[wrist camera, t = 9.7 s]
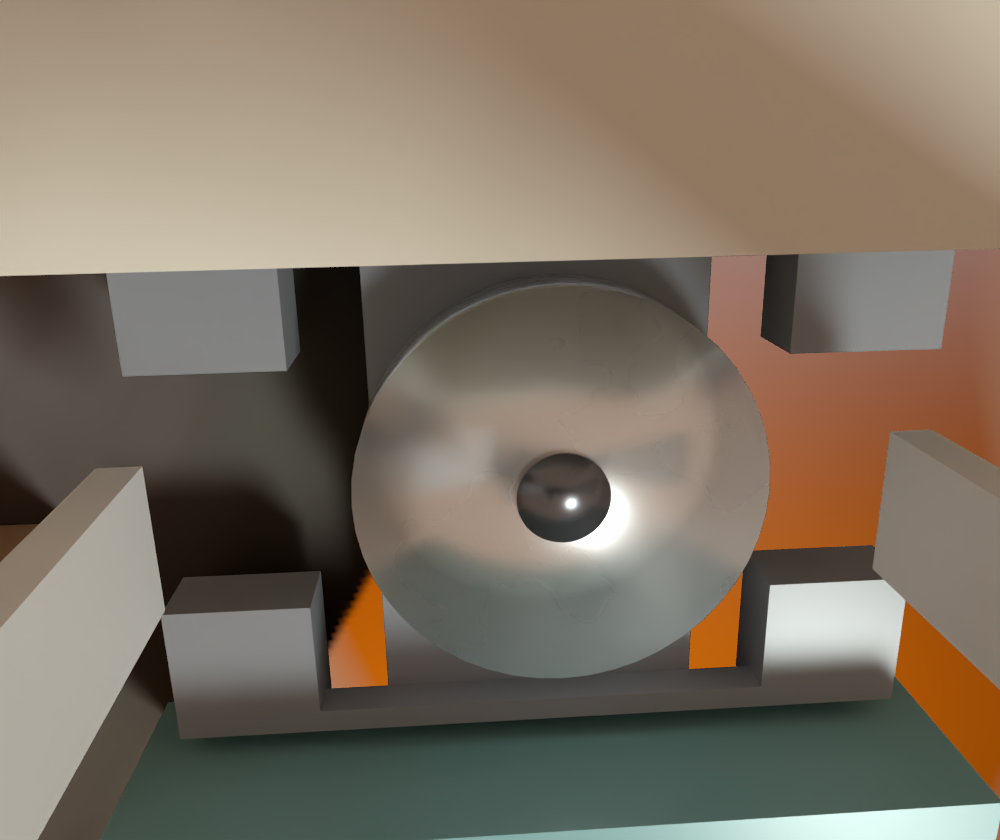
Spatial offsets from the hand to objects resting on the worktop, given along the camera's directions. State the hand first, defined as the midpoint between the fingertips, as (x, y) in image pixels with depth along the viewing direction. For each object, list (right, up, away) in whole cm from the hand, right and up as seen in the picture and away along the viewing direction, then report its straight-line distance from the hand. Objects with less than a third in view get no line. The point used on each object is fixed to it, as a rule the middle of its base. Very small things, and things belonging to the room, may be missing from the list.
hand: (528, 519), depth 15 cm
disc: (+1, +1, +3) cm, 3 cm away
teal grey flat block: (0, 0, +4) cm, 4 cm away
